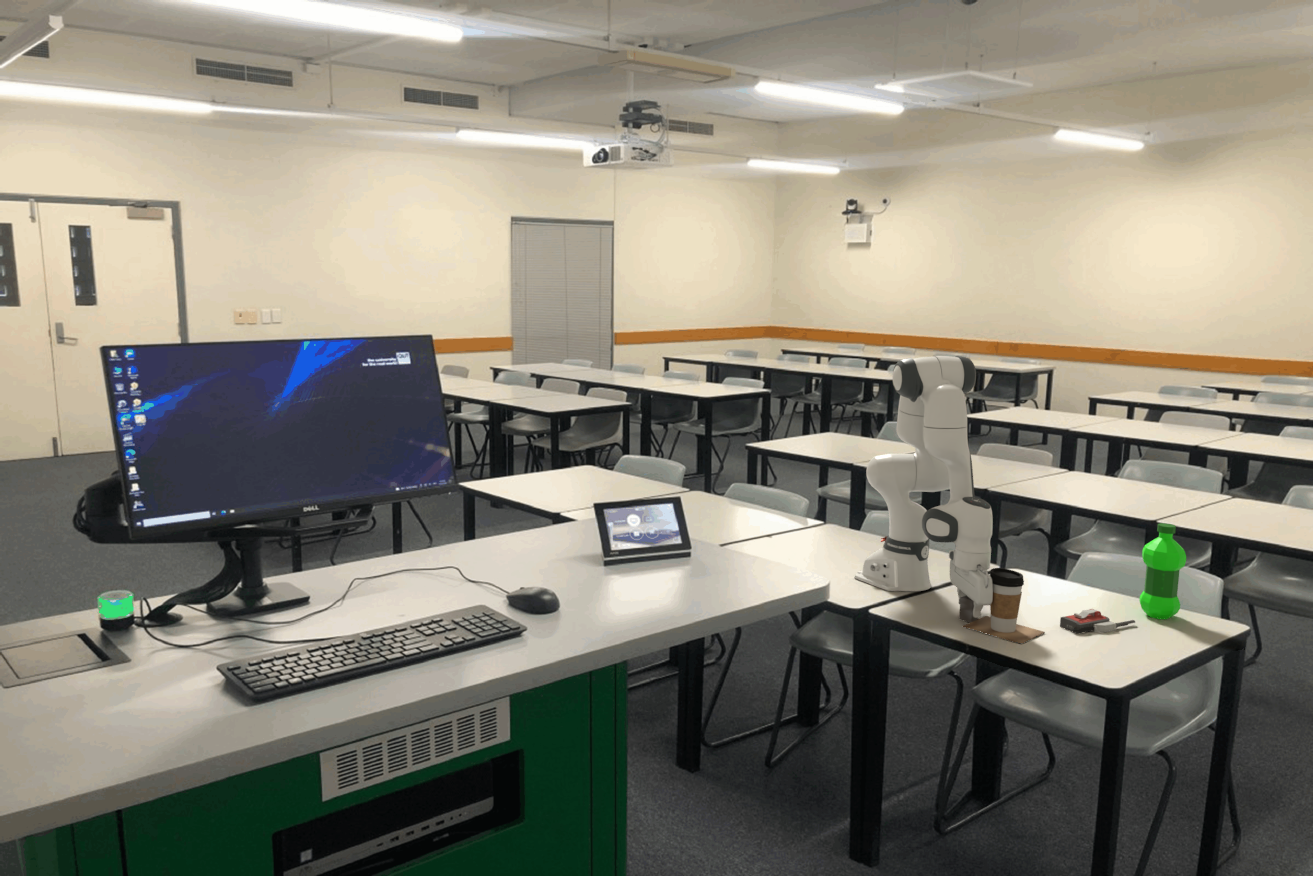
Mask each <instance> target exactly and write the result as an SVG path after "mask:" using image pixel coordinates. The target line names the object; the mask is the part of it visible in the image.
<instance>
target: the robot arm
mask: <svg viewBox="0 0 1313 876" xmlns="http://www.w3.org/2000/svg"><path fill="white" fill-rule="evenodd" d="M976 380H977V370H976V366H975V364H974V362H973V361H972V360H971V358H969V357H966V356H960V355H956V356H955V355H954V356H951V355H932V356H921V357H914V358H913V357H908V358H904V359H900V360H897V363H895V365H894V367H893V370H892V385H893V388H894V391H895V392H896V393H898V394H899V400H898V410H897V418H896V419H897V420H896V434H897V436H898V438H899V439H900V440H901V441H902V442H904V443H905V444H907V445H909V446H911V447H913V448H914V452H913V453H890V452H889V453H884V454H878V455H874V456H873V457H872V458H871V459H870V460H869V461H868V463H867V466H866V468H865V469H866V471H865V472H866V473H865V475H866V478H867V481H868V484H870V486H871V487H872V488H873V489H874V490H875V491H877V492H878V493H879V494H880V495H881V497H882V498H883V499H884V502H885V503H886V507H887V510H888V518H889V523H888V526H889V530H888V534H887V535H885V536H884V537H881V538H880V543H883V542H884V543H883V546H882V547H880V548H879V549H877V550H876V551H874V552H872V553H871V554H869V555H868V556H867V557H866V558H865V559H864V561H863V566H862V569H861V570H858V571H857V572H855V574H854V579H856V580H859V581H861V582H863V583H867V584H869V585H872V586H874V587H877V588H880V589H883V590H885V591H889V592H899V591H900V592H901V591H902V592H921V591H926V590H929V589H930V588H932V583H931V578H930V573H929V563H928V561H929V553H930V541H932V542H935V543H945V544H946V543H953V544H954V545H955V548H954V549H951V550H948V551H949V552H948V558H949V559H950V560H949V579H950V584H952V585H954V587H955V588H956V592H957V596H958V604H959V605H960V597H963V596H965V595H967V596H968V597H969V598H970V599H971V600H973V601H974V609H972V616H973V617H975V618H978V619H980V618H981V616H982V615H981V614H982V613H981V612H982V609H983V608H984V606H986V607H987V606H990V605H991V603H992V600H993V584H992V578H991V576H990V573H989V571H988V570H990V568H991V555H992V554H991V553H992V547H991V538H992V536H993V526H994V525H993V523H994V522H993V518H994V517H993V510H992V506H991V504H990V503H989V502H987V500H985V499H982V498H980V497H975V495H976V494H975V487H974V486H975V485H974V470H973V462H972V461H973V460H972V455H971V450H970V448H969V441H968V412H967V411H968V410H967V404H966V397H965V394H968V393H970V392H971V391H972V389H973V388H974V387H975V385H976ZM945 490H946V491H947V490H949V500H948V502H947V503H945V504H940V505H938V506H934V507H931V508H930V509H926V508H925V507H924V506H922V505H921V504H919V503H917V502H915V501H913V500H911V498H910V493H913V492H917V493H919V492H921V493H922V492H923V493H924V492H927V493H935V492H942V491H945Z"/></svg>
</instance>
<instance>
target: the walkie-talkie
mask: <svg viewBox="0 0 1313 876" xmlns="http://www.w3.org/2000/svg"><path fill="white" fill-rule="evenodd" d="M1135 623H1136V620H1134V619H1132V620H1126V621H1120V622H1113V621H1110V618H1109V617H1108V616H1105V615H1103V614H1102V612H1101V611H1099V610H1097V609H1094V608H1089V609H1084V610H1082V611H1081V612H1080V613H1077V612H1074V613H1073V614H1071V615H1066V616H1060V622H1059V627H1060V628H1062V629H1064V628H1065V630H1067V631H1069V630H1070V632H1072V631H1073V633H1074V632H1076V633H1075V634H1079V633H1080V634H1083V633H1082V632H1085V633H1089V632H1088V631H1091V632H1094V631H1095V632H1094V633H1102V632H1105V633H1109V632H1116V631H1117V629H1118V628H1121V627H1126V626H1129V625H1130V624H1135Z"/></svg>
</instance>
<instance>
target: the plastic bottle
mask: <svg viewBox="0 0 1313 876" xmlns="http://www.w3.org/2000/svg"><path fill="white" fill-rule="evenodd" d="M1176 529H1177V528H1176V525H1175V524H1172V523H1165V522H1164V523H1157V530H1156V531H1157V532H1158V537H1156V538H1154V539H1153V540H1151V541H1149V542H1148V543H1146V544H1145V545H1144V546H1143V548H1142V551H1141V553H1142V554H1141V555H1142V556H1141V557H1142V560H1143V563H1144V564H1145V565H1146V569H1145V578H1144V588H1143V591H1142V592H1141V593H1140V595H1139V598H1138V599H1139V600H1138V601H1139V604H1140V607H1141V610H1142V611H1143V612H1144V613H1145V614H1146V615H1147V616H1148V617H1149V616H1150V618H1152V619H1157V620H1168V619H1170V618H1172V617H1173V616H1176V615H1177V614H1178V612H1179V611H1180V609H1181V602H1180V600H1179V597H1178V589H1179V579H1180V570H1181V569H1183V568H1184V567H1185V565H1186V562H1187V555H1186V551H1185V549H1184V548H1183V547H1182V546H1181V545H1180V544H1179V543H1178V542H1177V541H1176V540H1175V539H1174V538H1173V537H1174V536H1173V535H1174V534H1176Z"/></svg>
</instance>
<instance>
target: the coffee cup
mask: <svg viewBox="0 0 1313 876" xmlns="http://www.w3.org/2000/svg"><path fill="white" fill-rule="evenodd" d="M989 575H990V576H991V578H992V584H993V600H992V603H991V605H989V607H990V610H989V611H990V617H991V628H992V629H993V630H995V631H998V632H1004V633H1011V632H1014V631H1015V629H1016V624H1017V623H1018V622H1017V621H1018V616H1019V610H1020V606H1021V605H1020V604H1021V600H1022V593H1023V592H1022V589H1023V586H1025V583H1024V582H1025V580H1024V575H1023V574H1022V573H1021V572H1019V571H1015V570H1013V569H1008V568H1004V567H994V568H991V570H990V573H989Z"/></svg>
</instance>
